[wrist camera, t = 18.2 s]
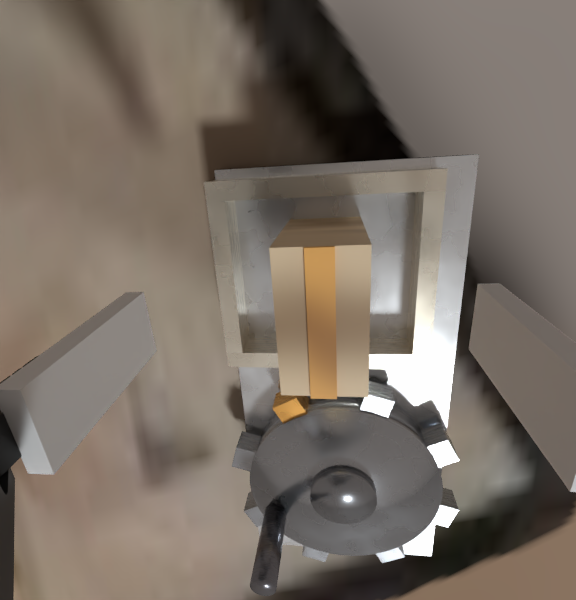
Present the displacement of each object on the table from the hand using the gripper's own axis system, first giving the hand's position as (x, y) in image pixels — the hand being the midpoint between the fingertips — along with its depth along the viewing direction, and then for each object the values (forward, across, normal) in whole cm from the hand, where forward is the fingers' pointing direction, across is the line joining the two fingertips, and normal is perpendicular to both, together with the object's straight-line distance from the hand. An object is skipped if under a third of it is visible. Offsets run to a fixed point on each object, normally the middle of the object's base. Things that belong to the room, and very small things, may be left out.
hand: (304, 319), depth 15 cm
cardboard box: (+8, +1, -1) cm, 8 cm away
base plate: (+9, +2, -10) cm, 13 cm away
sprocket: (+7, +2, -15) cm, 17 cm away
